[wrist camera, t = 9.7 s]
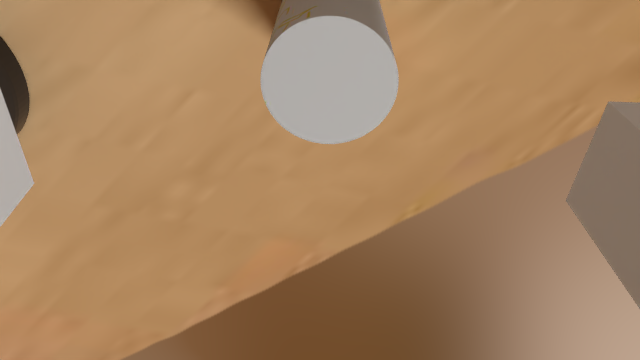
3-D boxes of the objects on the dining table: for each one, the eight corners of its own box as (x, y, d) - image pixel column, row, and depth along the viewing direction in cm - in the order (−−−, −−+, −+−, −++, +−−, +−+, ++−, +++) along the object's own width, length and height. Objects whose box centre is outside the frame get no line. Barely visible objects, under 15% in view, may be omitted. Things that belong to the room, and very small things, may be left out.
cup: (303, -54, 36) (292, -10, 26) (401, -5, 38) (424, 52, 28) (264, 45, 40) (241, 114, 30) (353, 84, 42) (359, 161, 32)
